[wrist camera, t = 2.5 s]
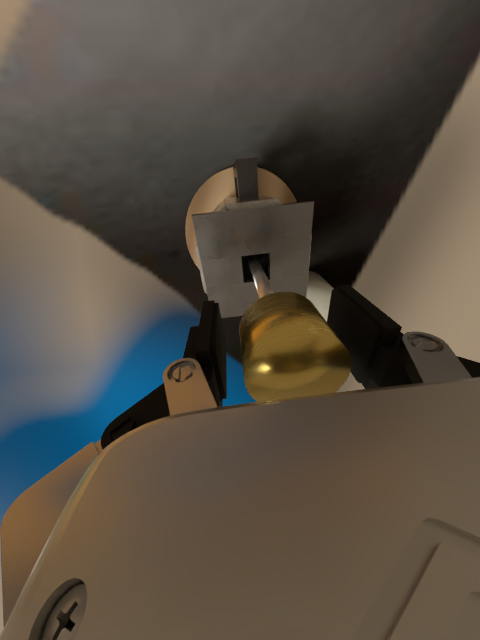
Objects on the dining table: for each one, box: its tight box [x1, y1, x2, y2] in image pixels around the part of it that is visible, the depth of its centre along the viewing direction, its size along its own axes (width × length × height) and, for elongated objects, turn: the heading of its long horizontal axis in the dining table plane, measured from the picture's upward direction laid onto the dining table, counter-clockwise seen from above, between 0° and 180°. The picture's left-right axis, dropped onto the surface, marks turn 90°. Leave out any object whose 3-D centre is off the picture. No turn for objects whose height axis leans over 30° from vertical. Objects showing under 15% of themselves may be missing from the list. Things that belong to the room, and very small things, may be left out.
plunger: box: [239, 253, 351, 402], centre depth 15 cm, size 8×8×18 cm
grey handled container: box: [192, 157, 314, 318], centre depth 23 cm, size 10×13×13 cm
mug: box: [306, 271, 334, 322], centre depth 32 cm, size 8×9×9 cm
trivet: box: [185, 167, 297, 268], centre depth 29 cm, size 16×16×1 cm
